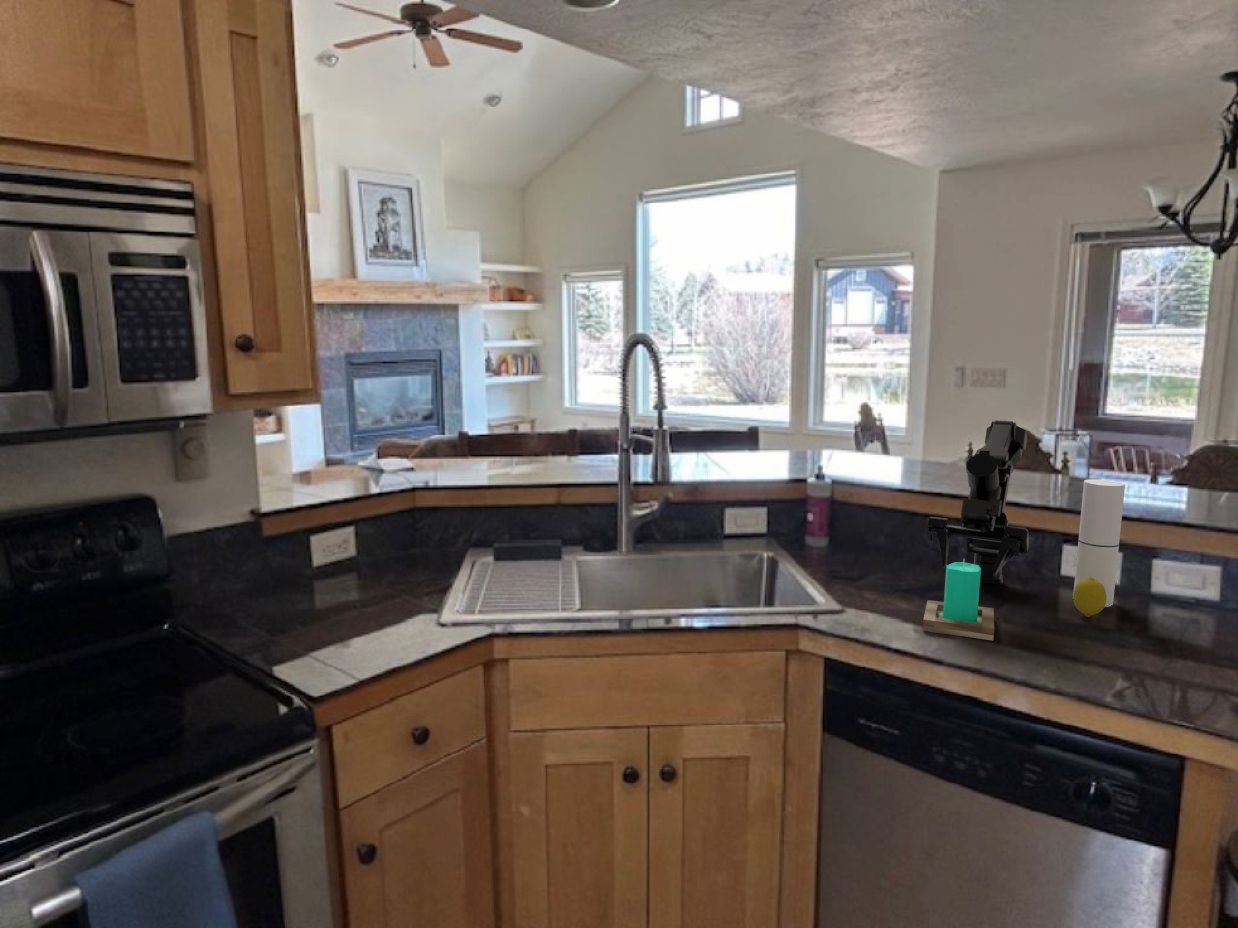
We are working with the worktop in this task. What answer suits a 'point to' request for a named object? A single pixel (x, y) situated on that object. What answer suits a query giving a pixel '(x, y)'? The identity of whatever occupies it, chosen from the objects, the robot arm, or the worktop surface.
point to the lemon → (1089, 596)
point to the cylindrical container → (1100, 533)
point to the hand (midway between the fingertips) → (968, 570)
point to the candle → (961, 592)
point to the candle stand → (959, 622)
